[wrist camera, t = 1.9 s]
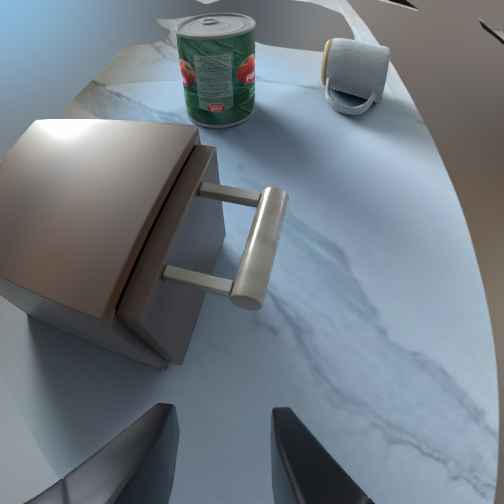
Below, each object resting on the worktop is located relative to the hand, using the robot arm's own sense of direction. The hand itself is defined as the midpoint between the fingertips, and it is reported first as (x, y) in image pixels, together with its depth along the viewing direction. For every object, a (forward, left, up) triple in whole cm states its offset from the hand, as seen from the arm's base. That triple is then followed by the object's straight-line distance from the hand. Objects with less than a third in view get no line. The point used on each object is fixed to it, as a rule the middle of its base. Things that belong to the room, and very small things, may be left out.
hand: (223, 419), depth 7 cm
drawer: (+8, +9, -13) cm, 17 cm away
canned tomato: (+30, +11, -14) cm, 35 cm away
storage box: (+8, +13, -14) cm, 20 cm away
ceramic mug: (+38, -4, -14) cm, 41 cm away
